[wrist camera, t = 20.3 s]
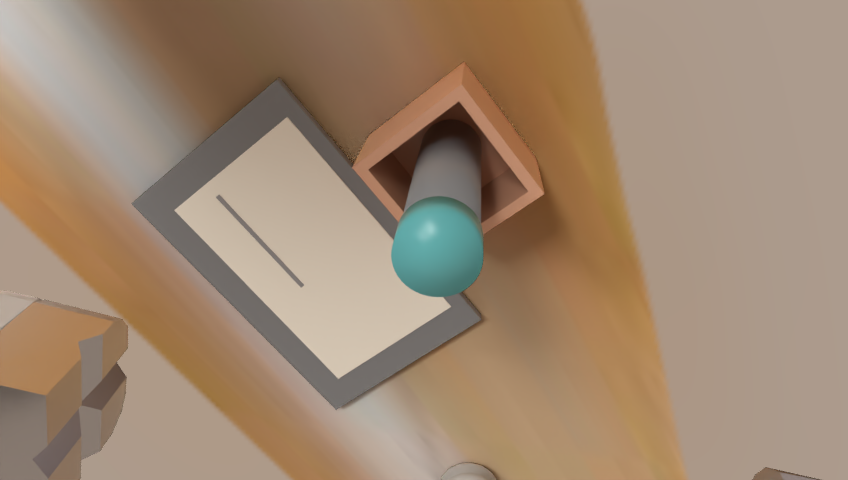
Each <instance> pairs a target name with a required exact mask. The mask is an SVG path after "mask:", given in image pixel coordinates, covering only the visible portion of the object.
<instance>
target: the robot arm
mask: <svg viewBox="0 0 848 480" xmlns="http://www.w3.org/2000/svg"><path fill="white" fill-rule="evenodd" d="M127 348H128V326H127V324H126V323H125V322H124V321H123V319H120V318H116V317H112V316H108V315H104V314H100V313H96V312H92V311H88V310H84V309H80V308H76V307H72V306H69V305H64V304H61V303H57V302H52V301H49V300H41V299H39V298H36V297H31V296H27V295H23V294H19V293H14V292H10V291H6V290H3V291H0V480H80V478H81V460H82V459H84V458H86V457H89V456H91V455H93V454H95V453H97V452H99V451H101V449H102V448H103V446H104V445H105V443H106V442H107V440H108V439H109V437H110V436H111V434H112V433H113V430H114V428H115V426H116V423H117V421H118V419H119V416H120V414H121V412H122V407H123V403H124V399H125V394H126V378H127V377H126V376H125V374H124V373H123V371H122V370H121V368H120V367H119V365H118V364H117V361H118V360H119V359H120V357H121V356H122V355H123V354H124V352H125V351H126V350H127ZM752 480H820V479H816V478H811V477H807V476H802V475H798V474H794V473H789V472H785V471H780V470H776V469H771V468H767V467H765V468H764V469H763V470H761V471H760V472H758V473H757V474H756V475H755V476H754V478H753V479H752Z"/></svg>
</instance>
